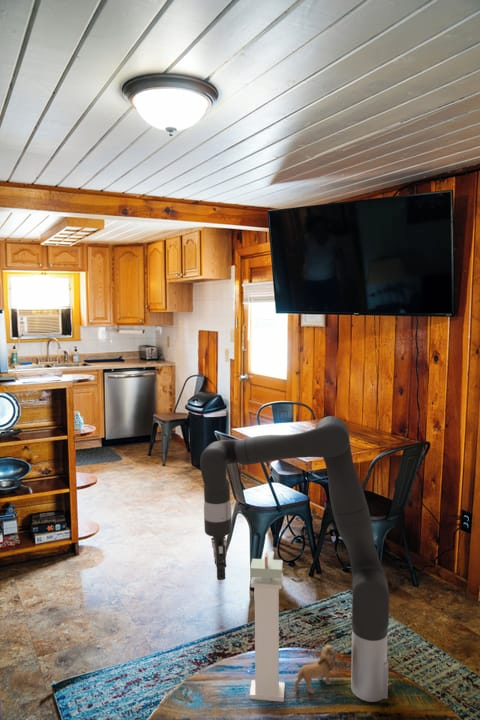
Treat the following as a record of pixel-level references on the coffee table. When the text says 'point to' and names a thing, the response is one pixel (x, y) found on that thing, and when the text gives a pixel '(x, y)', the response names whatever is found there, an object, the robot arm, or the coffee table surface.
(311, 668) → the lion figurine
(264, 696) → the stand
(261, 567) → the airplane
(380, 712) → the coffee table surface
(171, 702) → the coffee table surface
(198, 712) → the coffee table surface
